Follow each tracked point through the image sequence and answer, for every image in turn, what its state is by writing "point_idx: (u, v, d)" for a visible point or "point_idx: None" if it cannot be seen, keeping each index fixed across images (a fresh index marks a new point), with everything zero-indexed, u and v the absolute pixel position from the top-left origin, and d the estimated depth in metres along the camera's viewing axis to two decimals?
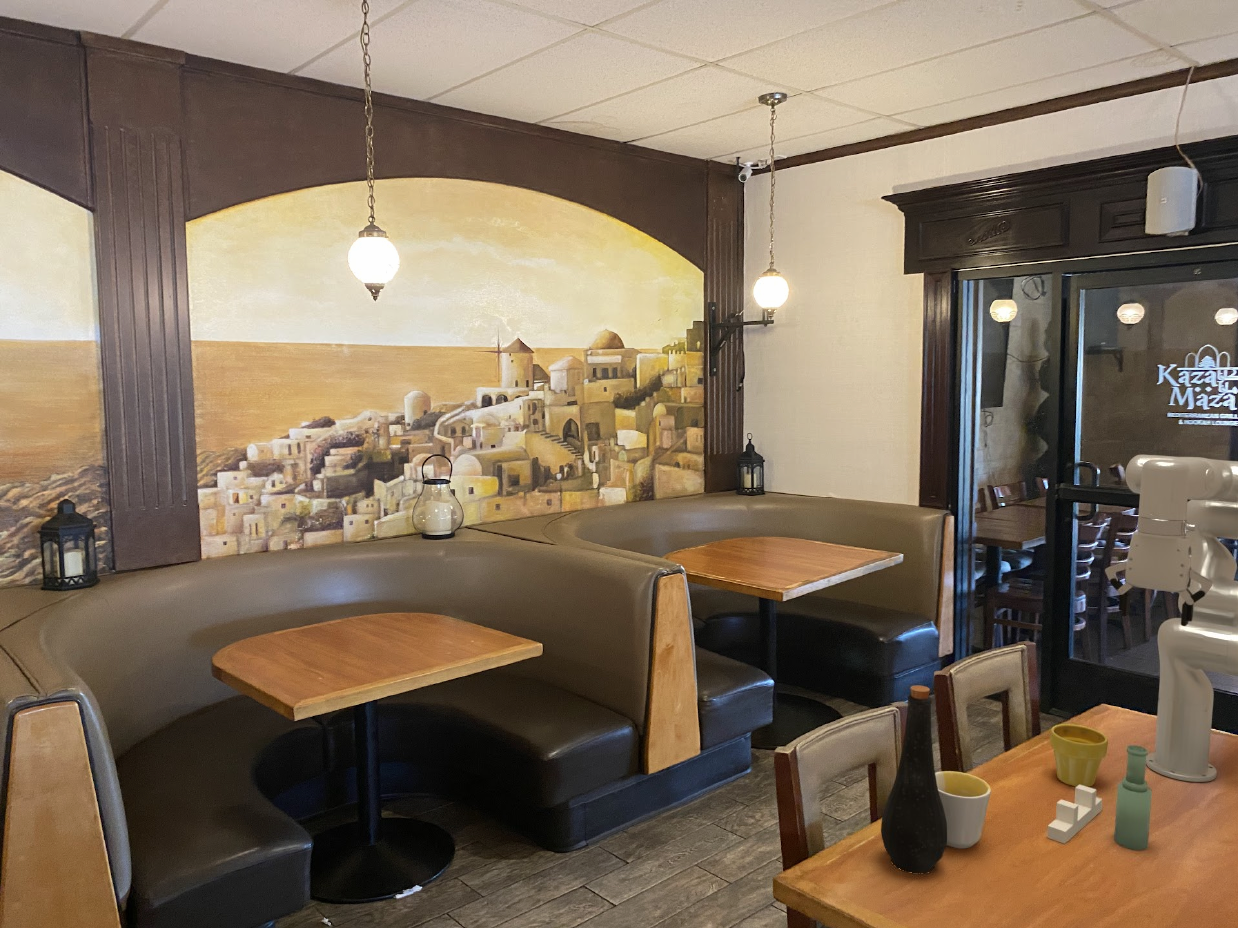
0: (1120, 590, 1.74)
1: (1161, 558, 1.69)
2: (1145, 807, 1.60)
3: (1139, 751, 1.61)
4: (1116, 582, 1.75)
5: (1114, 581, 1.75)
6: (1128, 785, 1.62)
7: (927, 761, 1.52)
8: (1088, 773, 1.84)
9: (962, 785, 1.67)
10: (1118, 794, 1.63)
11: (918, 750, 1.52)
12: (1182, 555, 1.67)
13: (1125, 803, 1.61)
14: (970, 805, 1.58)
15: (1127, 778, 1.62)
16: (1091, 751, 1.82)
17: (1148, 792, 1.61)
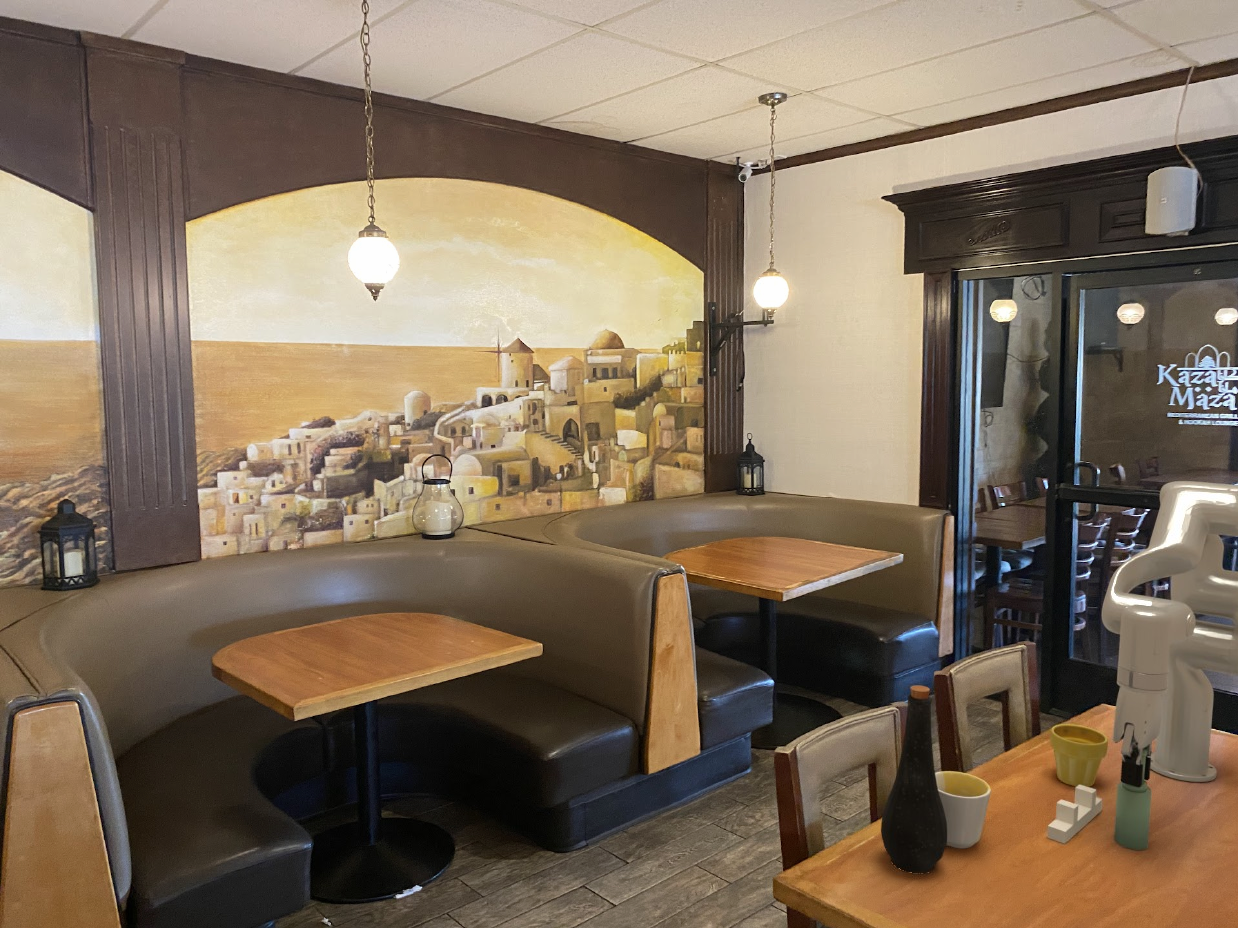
0: (1139, 761, 1.59)
1: None
2: (1145, 807, 1.60)
3: None
4: None
5: (1135, 754, 1.58)
6: (1128, 785, 1.61)
7: (926, 761, 1.52)
8: (1088, 773, 1.84)
9: (962, 785, 1.67)
10: (1118, 794, 1.63)
11: (918, 750, 1.52)
12: None
13: (1125, 803, 1.61)
14: (970, 805, 1.58)
15: None
16: (1091, 751, 1.82)
17: (1148, 792, 1.61)
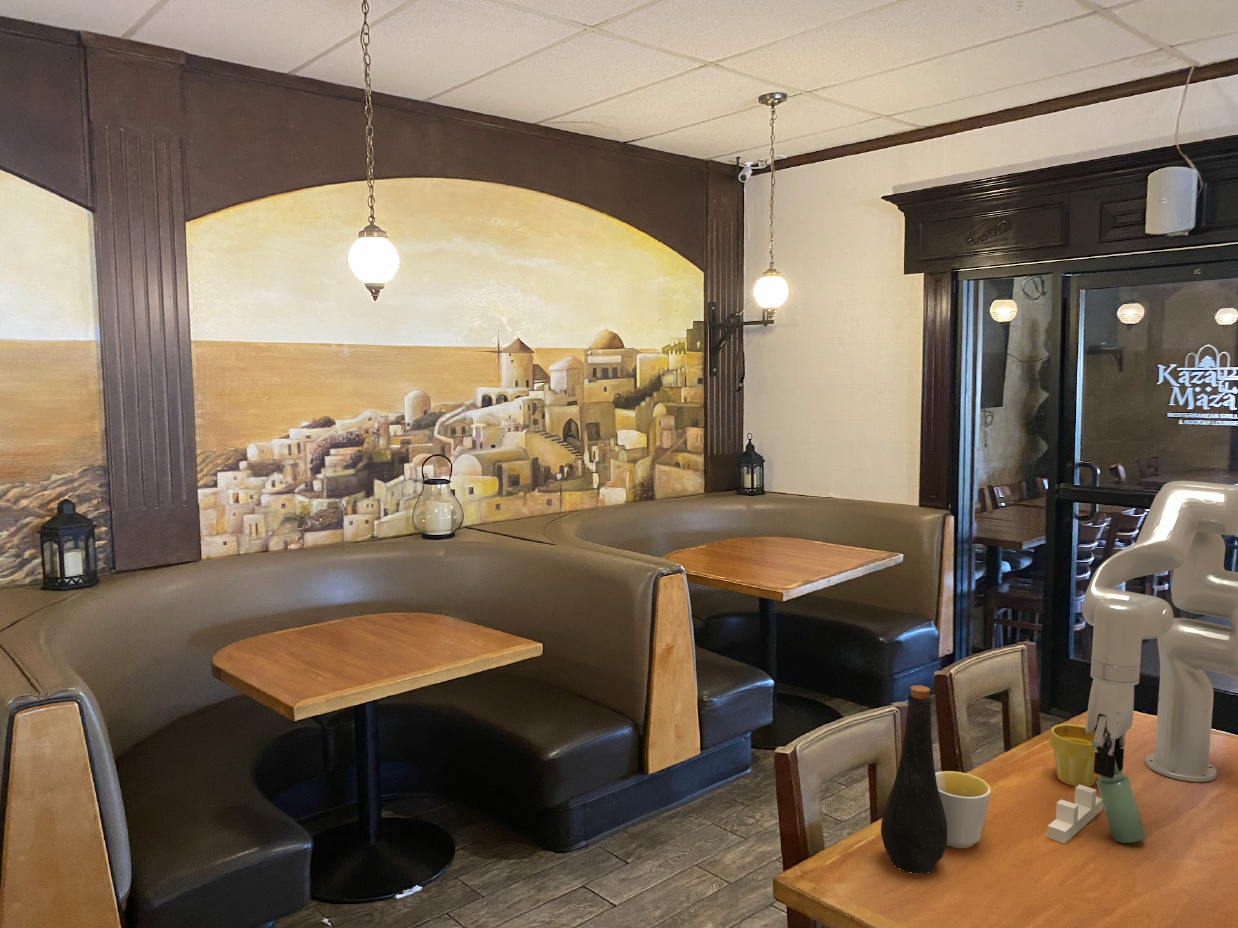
0: None
1: (1128, 701, 1.63)
2: (1129, 794, 1.62)
3: None
4: (1107, 745, 1.62)
5: (1108, 745, 1.61)
6: (1106, 779, 1.64)
7: (927, 761, 1.52)
8: (1088, 773, 1.84)
9: (962, 785, 1.67)
10: (1101, 791, 1.65)
11: (918, 750, 1.52)
12: None
13: (1110, 798, 1.63)
14: (970, 805, 1.58)
15: None
16: (1091, 751, 1.82)
17: (1126, 779, 1.63)
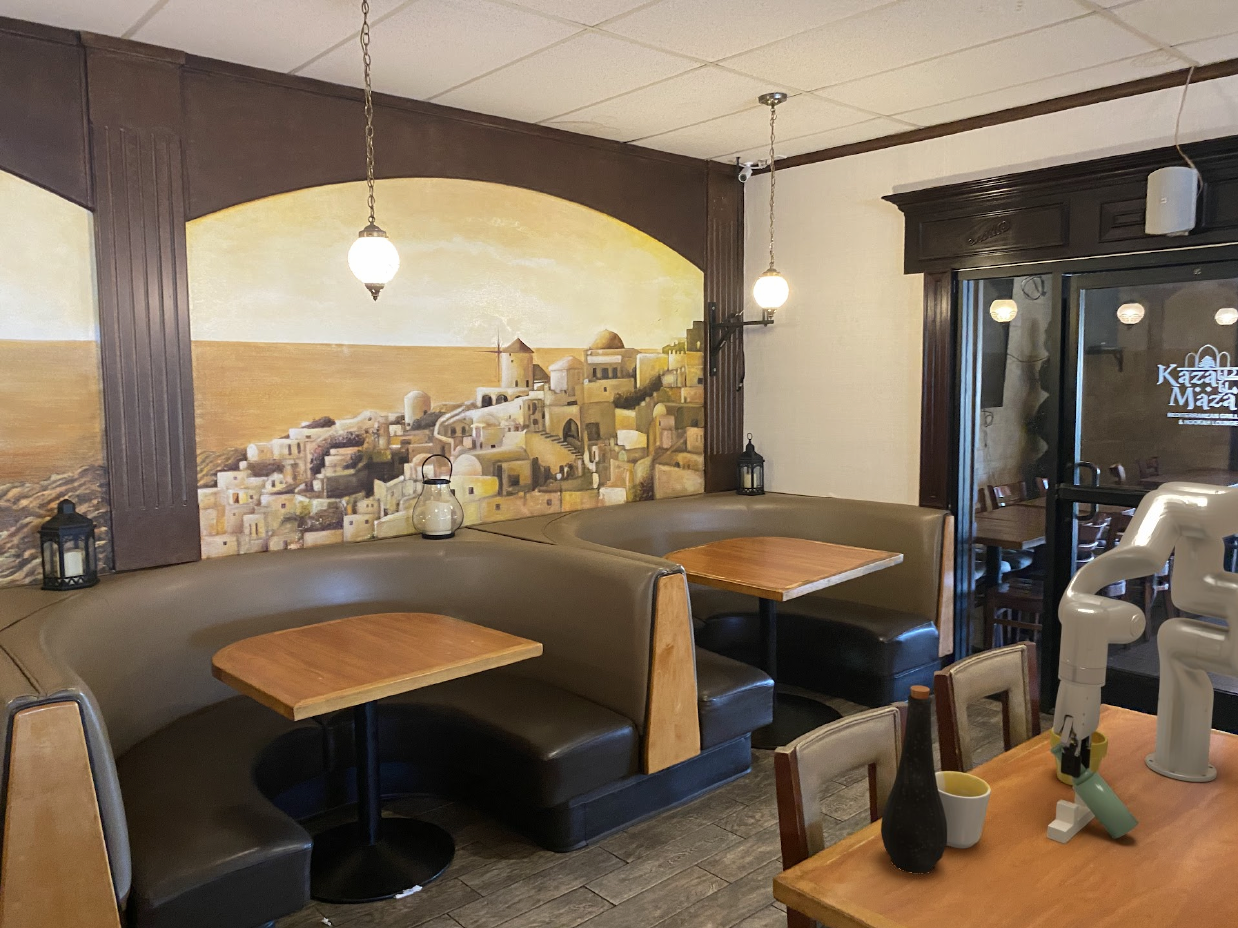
0: (1077, 752, 1.66)
1: (1095, 703, 1.67)
2: (1103, 786, 1.65)
3: (1059, 745, 1.69)
4: (1074, 745, 1.65)
5: (1074, 745, 1.65)
6: (1077, 779, 1.67)
7: (927, 761, 1.52)
8: None
9: (962, 785, 1.67)
10: (1079, 794, 1.67)
11: (918, 750, 1.52)
12: (1100, 694, 1.69)
13: (1088, 796, 1.65)
14: (970, 805, 1.58)
15: None
16: (1091, 751, 1.82)
17: (1095, 773, 1.67)
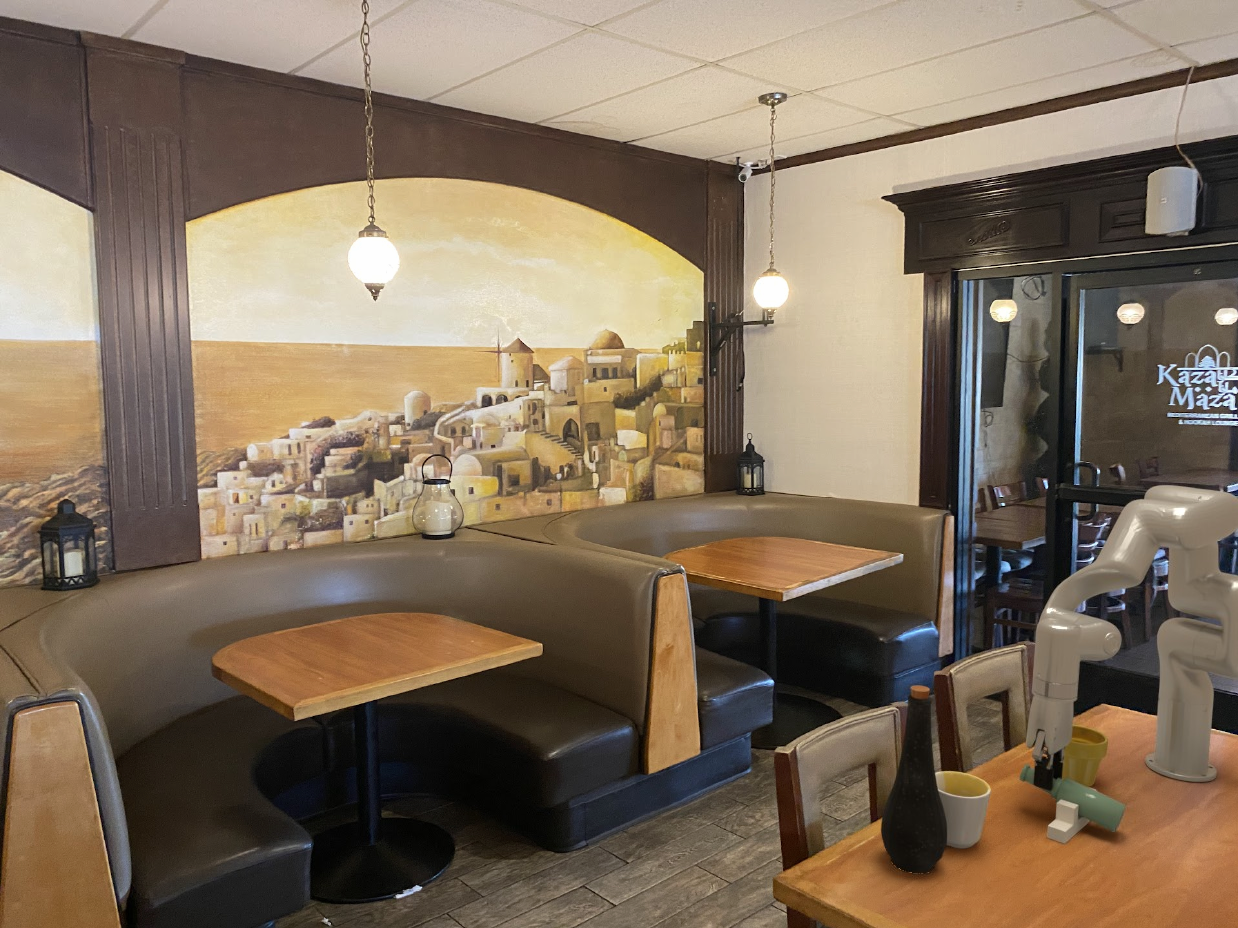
0: (1049, 765, 1.69)
1: (1067, 717, 1.70)
2: (1076, 787, 1.68)
3: (1022, 770, 1.74)
4: (1046, 759, 1.69)
5: (1046, 759, 1.69)
6: (1053, 793, 1.70)
7: (927, 761, 1.52)
8: (1088, 773, 1.84)
9: (962, 785, 1.67)
10: None
11: (918, 750, 1.52)
12: None
13: None
14: (970, 805, 1.58)
15: (1049, 792, 1.71)
16: (1091, 751, 1.82)
17: None
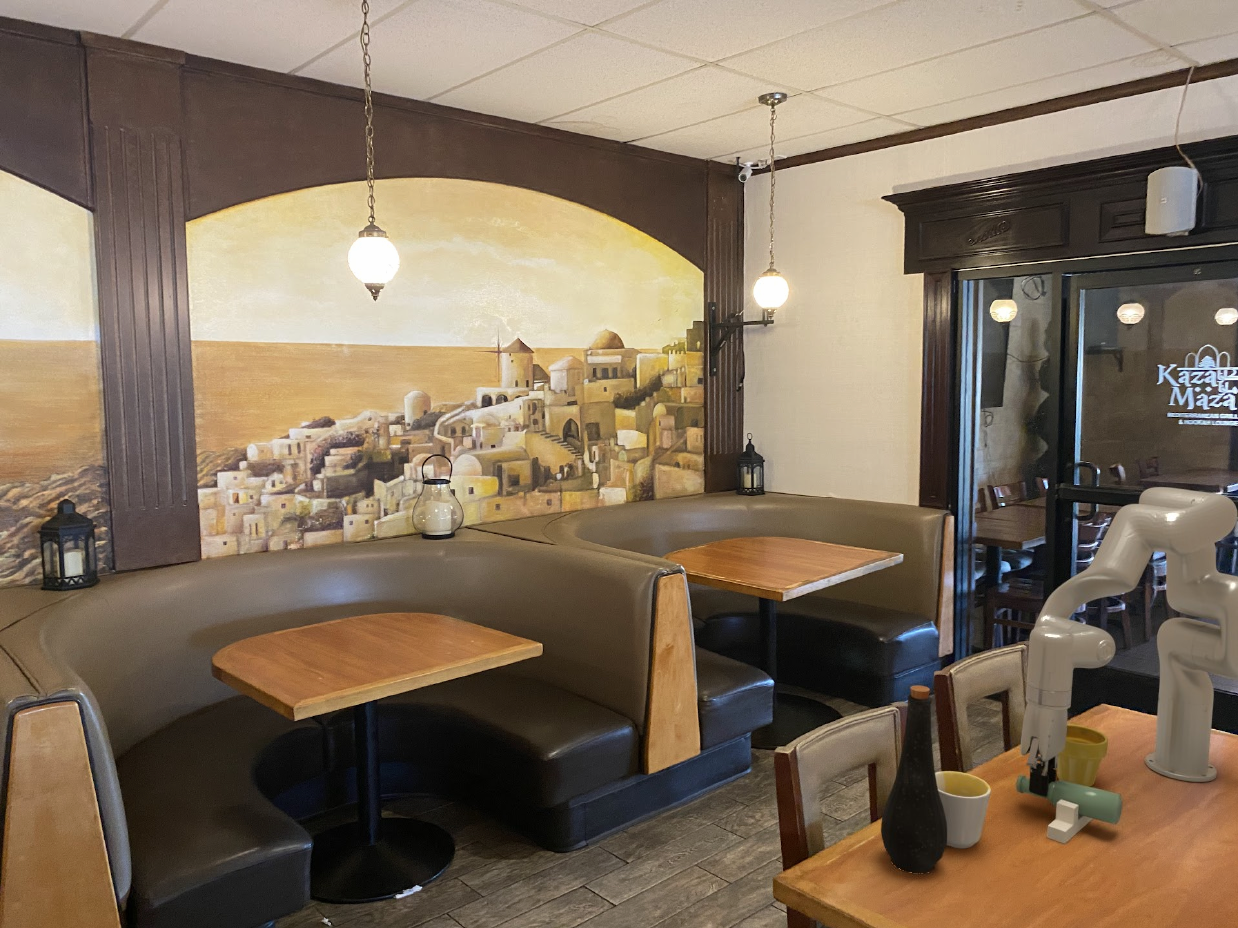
0: (1044, 772, 1.71)
1: (1061, 724, 1.71)
2: (1069, 785, 1.69)
3: (1017, 780, 1.76)
4: (1041, 766, 1.70)
5: (1041, 766, 1.70)
6: (1049, 796, 1.71)
7: (926, 761, 1.52)
8: (1088, 773, 1.84)
9: (962, 785, 1.67)
10: None
11: (917, 750, 1.52)
12: None
13: None
14: (970, 805, 1.58)
15: (1046, 796, 1.72)
16: (1091, 751, 1.82)
17: (1058, 781, 1.72)
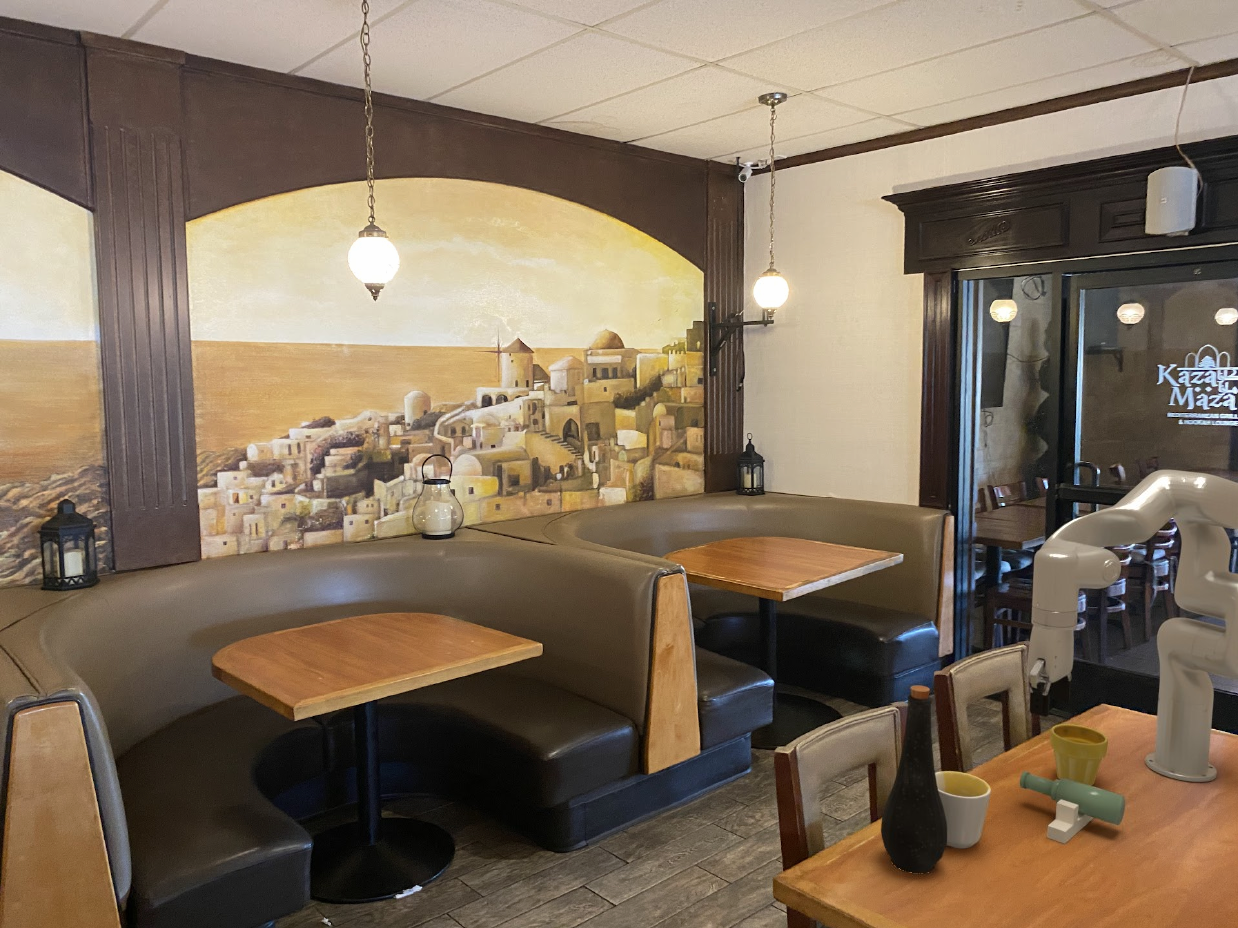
0: (1045, 691, 1.67)
1: (1067, 646, 1.70)
2: (1075, 781, 1.71)
3: (1022, 774, 1.77)
4: (1041, 685, 1.67)
5: (1041, 685, 1.66)
6: (1053, 789, 1.72)
7: (927, 761, 1.52)
8: (1088, 773, 1.84)
9: (962, 785, 1.67)
10: None
11: (918, 750, 1.52)
12: (1073, 637, 1.72)
13: (1069, 794, 1.69)
14: (970, 805, 1.58)
15: (1049, 791, 1.73)
16: (1091, 751, 1.82)
17: None
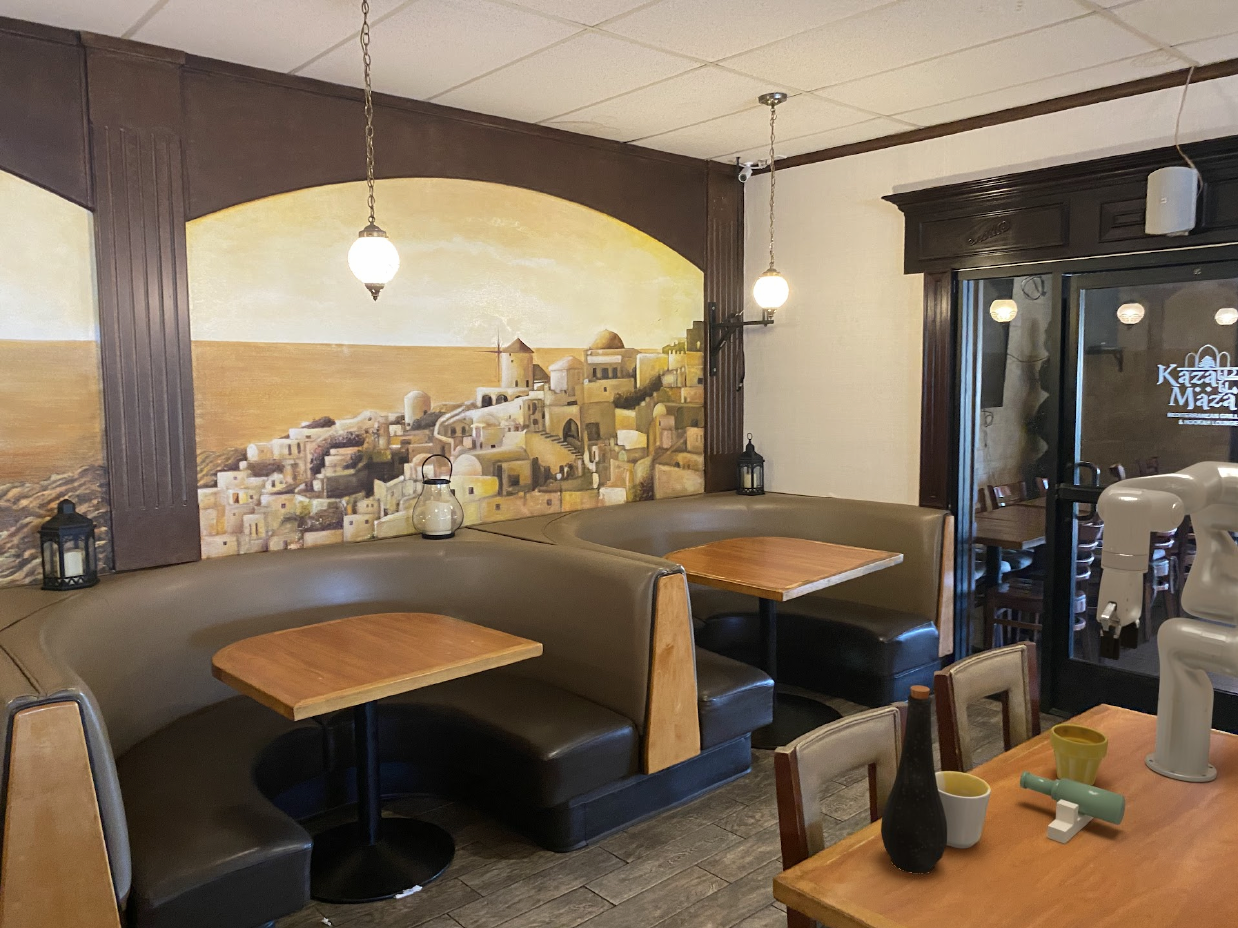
0: (1116, 634, 1.67)
1: (1137, 590, 1.70)
2: (1076, 781, 1.71)
3: (1022, 773, 1.77)
4: (1113, 628, 1.67)
5: (1113, 627, 1.66)
6: (1053, 789, 1.72)
7: (927, 761, 1.52)
8: (1088, 773, 1.84)
9: (962, 785, 1.67)
10: None
11: (918, 750, 1.52)
12: (1142, 583, 1.72)
13: (1069, 794, 1.69)
14: (970, 805, 1.58)
15: (1049, 791, 1.73)
16: (1091, 751, 1.82)
17: None
